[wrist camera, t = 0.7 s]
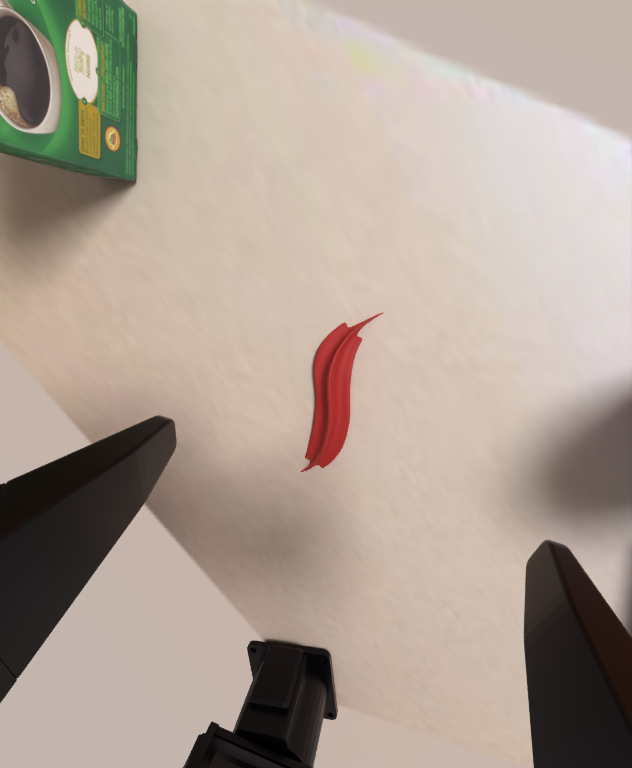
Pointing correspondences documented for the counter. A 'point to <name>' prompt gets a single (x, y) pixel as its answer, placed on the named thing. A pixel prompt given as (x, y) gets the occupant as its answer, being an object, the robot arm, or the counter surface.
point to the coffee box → (69, 85)
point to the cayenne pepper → (333, 393)
